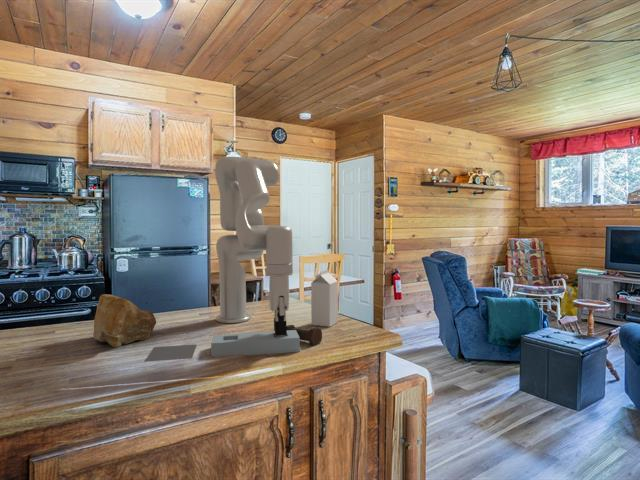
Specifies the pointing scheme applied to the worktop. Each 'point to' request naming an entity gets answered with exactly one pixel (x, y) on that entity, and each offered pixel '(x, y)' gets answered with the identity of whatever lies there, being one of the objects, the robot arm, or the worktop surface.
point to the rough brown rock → (121, 321)
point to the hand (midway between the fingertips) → (280, 332)
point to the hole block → (254, 343)
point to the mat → (171, 352)
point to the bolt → (308, 334)
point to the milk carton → (324, 300)
